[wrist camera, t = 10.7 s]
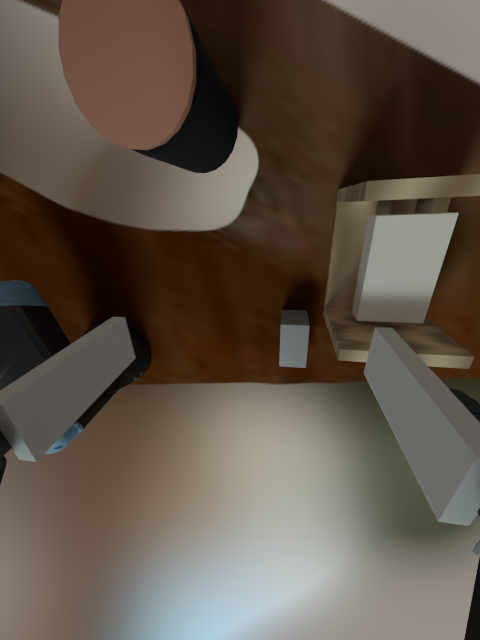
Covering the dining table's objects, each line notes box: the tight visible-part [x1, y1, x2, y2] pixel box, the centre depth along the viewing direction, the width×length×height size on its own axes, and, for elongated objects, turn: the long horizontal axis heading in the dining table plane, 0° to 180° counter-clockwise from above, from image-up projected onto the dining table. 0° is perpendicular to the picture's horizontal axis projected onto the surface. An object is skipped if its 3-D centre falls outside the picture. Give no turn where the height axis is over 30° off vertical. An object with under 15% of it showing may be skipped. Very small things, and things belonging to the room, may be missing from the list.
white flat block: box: [352, 212, 459, 323], centre depth 30 cm, size 8×13×3 cm, turn 3°
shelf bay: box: [323, 174, 480, 369], centre depth 30 cm, size 14×19×14 cm
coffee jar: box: [59, 0, 238, 173], centre depth 25 cm, size 11×11×18 cm
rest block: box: [279, 310, 310, 368], centre depth 41 cm, size 4×8×6 cm, turn 3°
